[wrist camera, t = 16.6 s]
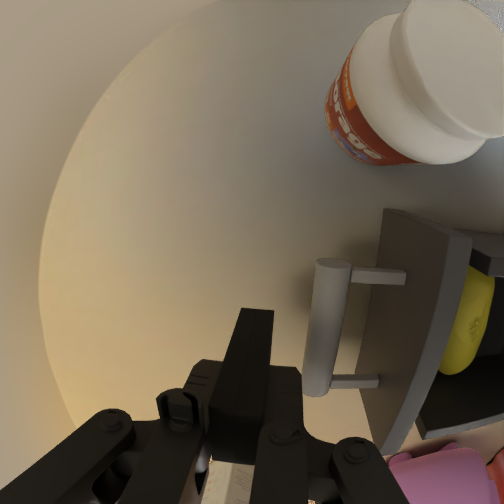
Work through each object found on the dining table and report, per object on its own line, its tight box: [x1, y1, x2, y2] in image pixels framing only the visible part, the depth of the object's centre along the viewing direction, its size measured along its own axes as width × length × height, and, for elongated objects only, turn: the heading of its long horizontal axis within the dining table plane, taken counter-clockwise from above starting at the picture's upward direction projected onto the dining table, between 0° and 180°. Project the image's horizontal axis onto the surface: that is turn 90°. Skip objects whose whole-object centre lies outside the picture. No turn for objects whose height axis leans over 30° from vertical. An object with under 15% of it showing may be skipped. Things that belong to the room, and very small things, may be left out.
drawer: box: [301, 208, 504, 456], centre depth 13 cm, size 18×11×8 cm, turn 88°
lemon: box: [438, 266, 495, 375], centre depth 14 cm, size 4×8×4 cm, turn 177°
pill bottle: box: [325, 0, 504, 166], centre depth 10 cm, size 6×6×11 cm
